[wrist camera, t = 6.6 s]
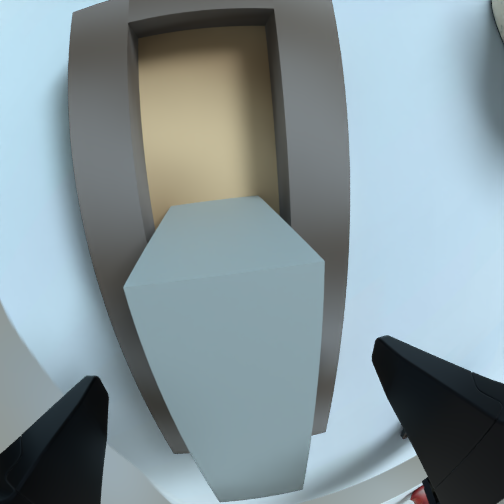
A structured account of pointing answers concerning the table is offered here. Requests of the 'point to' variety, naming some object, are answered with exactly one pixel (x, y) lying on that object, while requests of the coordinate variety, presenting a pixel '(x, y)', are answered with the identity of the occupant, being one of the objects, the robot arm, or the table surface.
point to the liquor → (419, 496)
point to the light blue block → (234, 340)
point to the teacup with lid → (499, 15)
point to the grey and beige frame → (209, 141)
